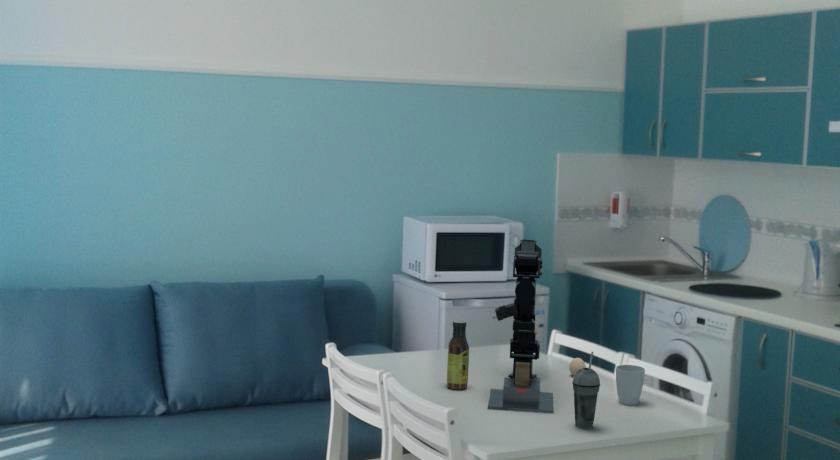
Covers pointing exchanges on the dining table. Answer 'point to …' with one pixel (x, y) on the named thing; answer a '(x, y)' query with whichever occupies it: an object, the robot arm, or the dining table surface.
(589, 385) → the beverage cup
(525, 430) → the dining table surface
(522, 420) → the dining table surface
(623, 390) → the cup
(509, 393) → the stand
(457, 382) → the sauce bottle
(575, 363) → the egg
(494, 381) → the dining table surface
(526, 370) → the post
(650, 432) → the dining table surface
